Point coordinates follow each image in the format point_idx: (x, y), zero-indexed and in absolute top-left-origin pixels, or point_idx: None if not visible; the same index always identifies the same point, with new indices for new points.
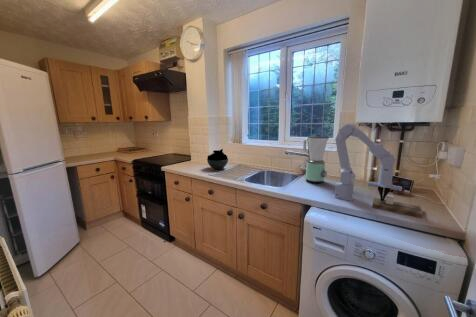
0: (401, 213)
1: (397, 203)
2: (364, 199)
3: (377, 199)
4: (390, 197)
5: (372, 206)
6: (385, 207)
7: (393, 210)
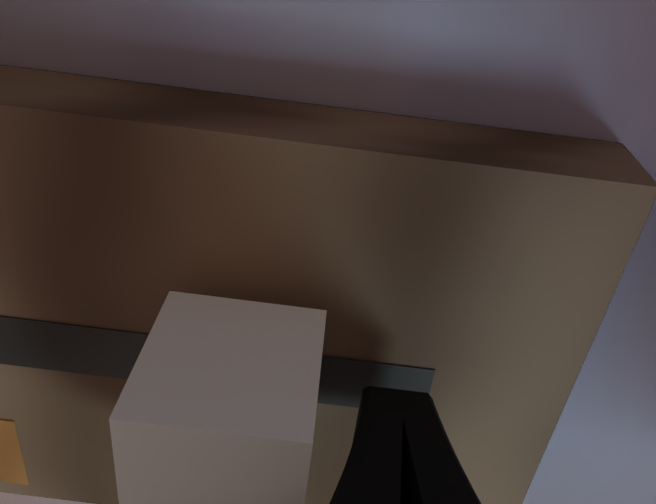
0: (11, 71)
1: (101, 445)
2: (650, 487)
3: None
4: (200, 495)
5: (627, 151)
6: (341, 137)
7: (165, 100)
